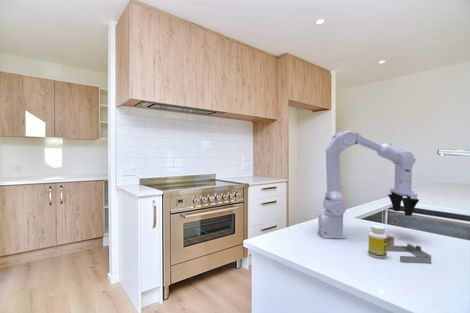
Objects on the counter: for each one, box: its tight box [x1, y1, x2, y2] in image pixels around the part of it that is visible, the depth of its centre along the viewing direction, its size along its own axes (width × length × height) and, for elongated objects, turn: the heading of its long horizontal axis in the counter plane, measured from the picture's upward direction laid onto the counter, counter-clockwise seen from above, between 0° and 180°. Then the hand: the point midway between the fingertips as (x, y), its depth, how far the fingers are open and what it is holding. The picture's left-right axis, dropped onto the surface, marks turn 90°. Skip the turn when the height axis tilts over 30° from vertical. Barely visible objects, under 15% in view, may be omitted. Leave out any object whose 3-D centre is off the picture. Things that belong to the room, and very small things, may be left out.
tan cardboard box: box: [385, 233, 395, 246], centre depth 93 cm, size 6×4×3 cm, turn 107°
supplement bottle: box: [367, 224, 388, 259], centre depth 82 cm, size 5×5×10 cm
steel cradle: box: [387, 243, 432, 264], centre depth 82 cm, size 9×10×3 cm
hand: (402, 213), depth 100 cm, fingers open, 7 cm apart
